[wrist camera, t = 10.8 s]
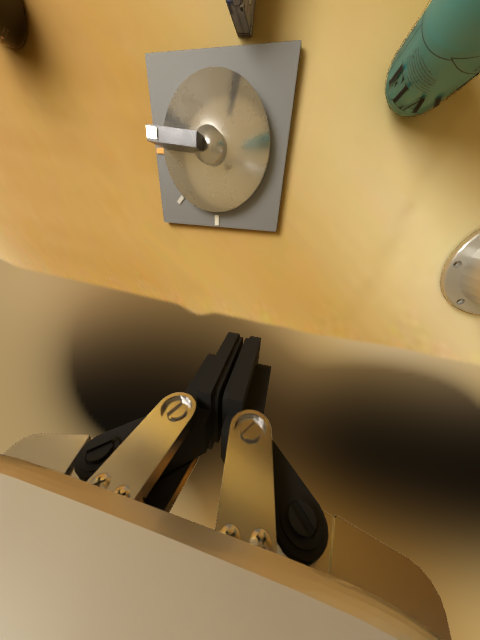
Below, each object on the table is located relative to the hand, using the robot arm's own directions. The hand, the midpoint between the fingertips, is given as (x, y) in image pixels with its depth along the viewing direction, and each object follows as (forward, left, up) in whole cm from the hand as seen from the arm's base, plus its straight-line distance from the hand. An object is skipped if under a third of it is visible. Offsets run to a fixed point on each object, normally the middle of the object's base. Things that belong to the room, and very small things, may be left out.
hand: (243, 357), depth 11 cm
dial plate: (+10, -13, -25) cm, 30 cm away
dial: (+10, -13, -24) cm, 29 cm away
